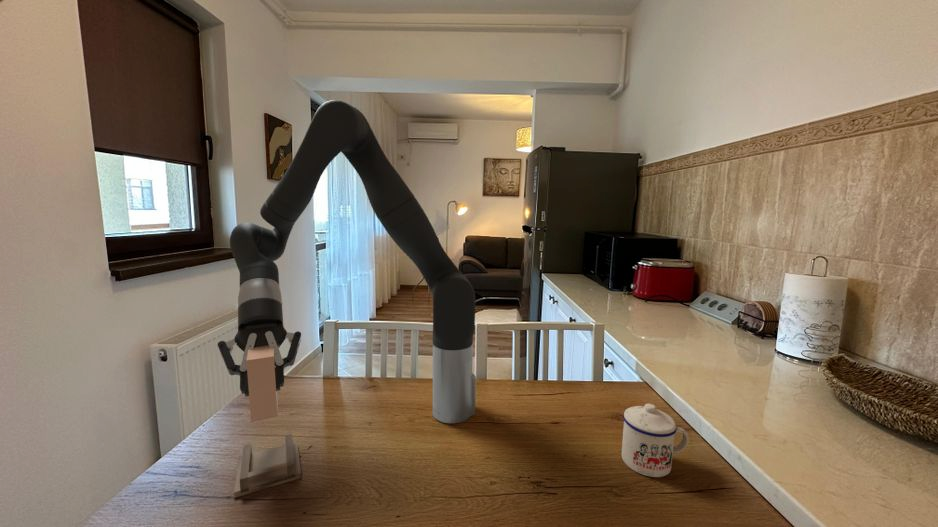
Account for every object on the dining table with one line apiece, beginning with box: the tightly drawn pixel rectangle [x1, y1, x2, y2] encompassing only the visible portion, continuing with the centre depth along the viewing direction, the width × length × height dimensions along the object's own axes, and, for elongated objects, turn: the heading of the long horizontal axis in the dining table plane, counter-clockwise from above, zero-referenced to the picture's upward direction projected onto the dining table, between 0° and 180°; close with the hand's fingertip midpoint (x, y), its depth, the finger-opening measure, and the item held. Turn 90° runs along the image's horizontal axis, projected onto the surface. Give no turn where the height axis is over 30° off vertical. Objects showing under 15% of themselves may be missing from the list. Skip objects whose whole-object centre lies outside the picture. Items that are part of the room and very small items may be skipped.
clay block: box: [246, 346, 279, 423], centre depth 65 cm, size 4×6×11 cm, turn 28°
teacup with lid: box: [621, 403, 690, 478], centre depth 69 cm, size 12×9×12 cm
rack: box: [233, 433, 302, 498], centre depth 67 cm, size 10×10×3 cm
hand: (263, 391), depth 63 cm, fingers closed on clay block, 4 cm apart
